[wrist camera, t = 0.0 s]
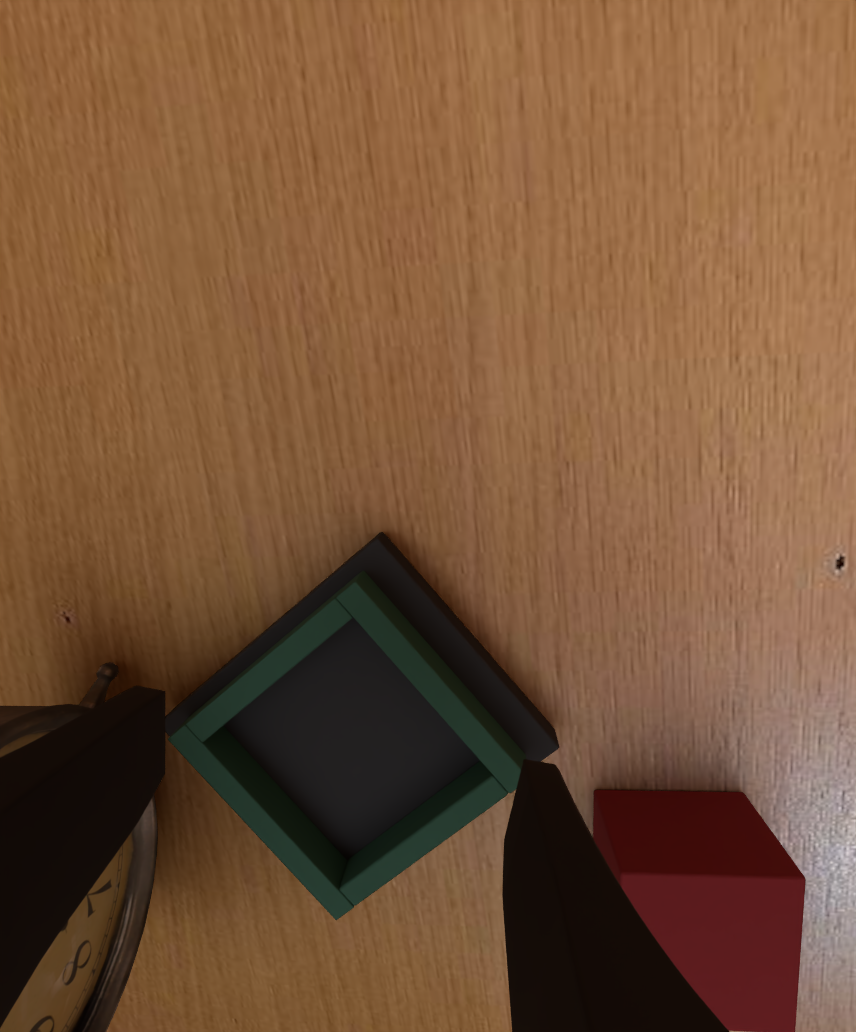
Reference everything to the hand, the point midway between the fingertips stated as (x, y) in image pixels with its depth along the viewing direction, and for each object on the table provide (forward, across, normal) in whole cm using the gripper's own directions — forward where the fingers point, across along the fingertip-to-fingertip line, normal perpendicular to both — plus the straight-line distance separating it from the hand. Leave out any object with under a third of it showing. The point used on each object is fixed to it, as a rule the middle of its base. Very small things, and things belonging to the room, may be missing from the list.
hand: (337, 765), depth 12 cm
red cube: (+8, -11, +8) cm, 15 cm away
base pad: (+8, +1, +5) cm, 10 cm away
